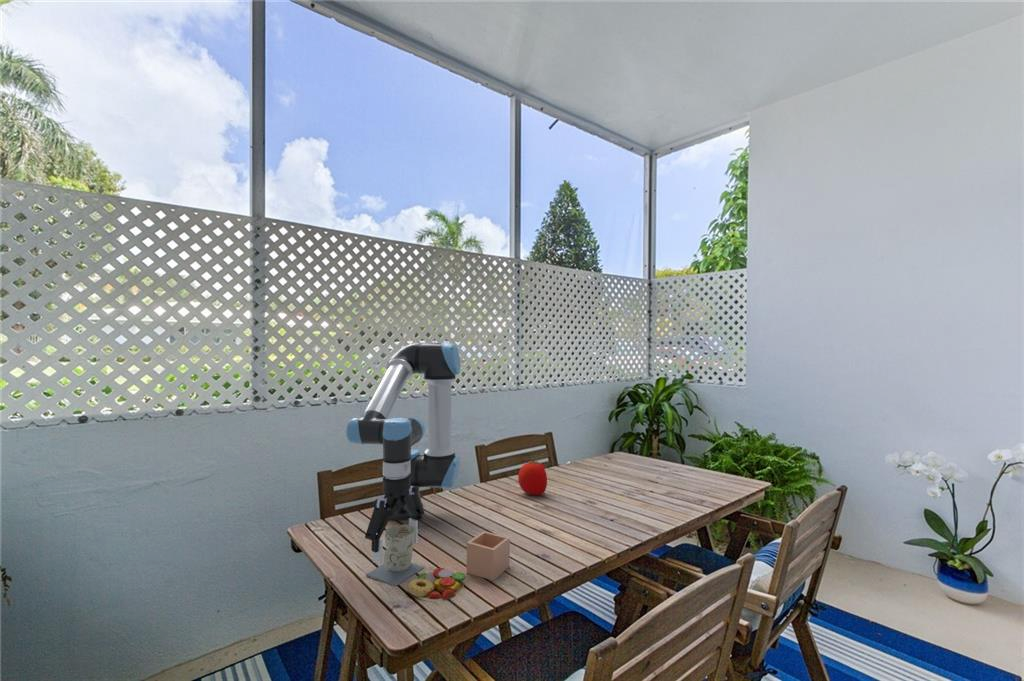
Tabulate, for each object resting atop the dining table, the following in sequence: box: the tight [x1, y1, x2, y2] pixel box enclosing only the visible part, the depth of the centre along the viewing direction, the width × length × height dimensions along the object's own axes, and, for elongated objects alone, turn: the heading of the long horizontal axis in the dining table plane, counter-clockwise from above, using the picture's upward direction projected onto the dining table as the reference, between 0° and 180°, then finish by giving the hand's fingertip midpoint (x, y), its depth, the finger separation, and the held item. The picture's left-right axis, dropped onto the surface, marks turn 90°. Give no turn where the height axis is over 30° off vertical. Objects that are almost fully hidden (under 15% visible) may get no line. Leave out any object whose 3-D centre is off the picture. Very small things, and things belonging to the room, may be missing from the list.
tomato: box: [517, 460, 548, 496], centre depth 186 cm, size 13×11×14 cm
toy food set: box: [407, 567, 467, 603], centre depth 114 cm, size 13×13×3 cm
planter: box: [466, 530, 511, 581], centre depth 122 cm, size 9×9×9 cm
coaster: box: [365, 561, 425, 587], centre depth 122 cm, size 11×11×1 cm
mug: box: [383, 524, 415, 572], centre depth 122 cm, size 8×13×10 cm, turn 169°
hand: (396, 552), depth 122 cm, fingers open, 13 cm apart
